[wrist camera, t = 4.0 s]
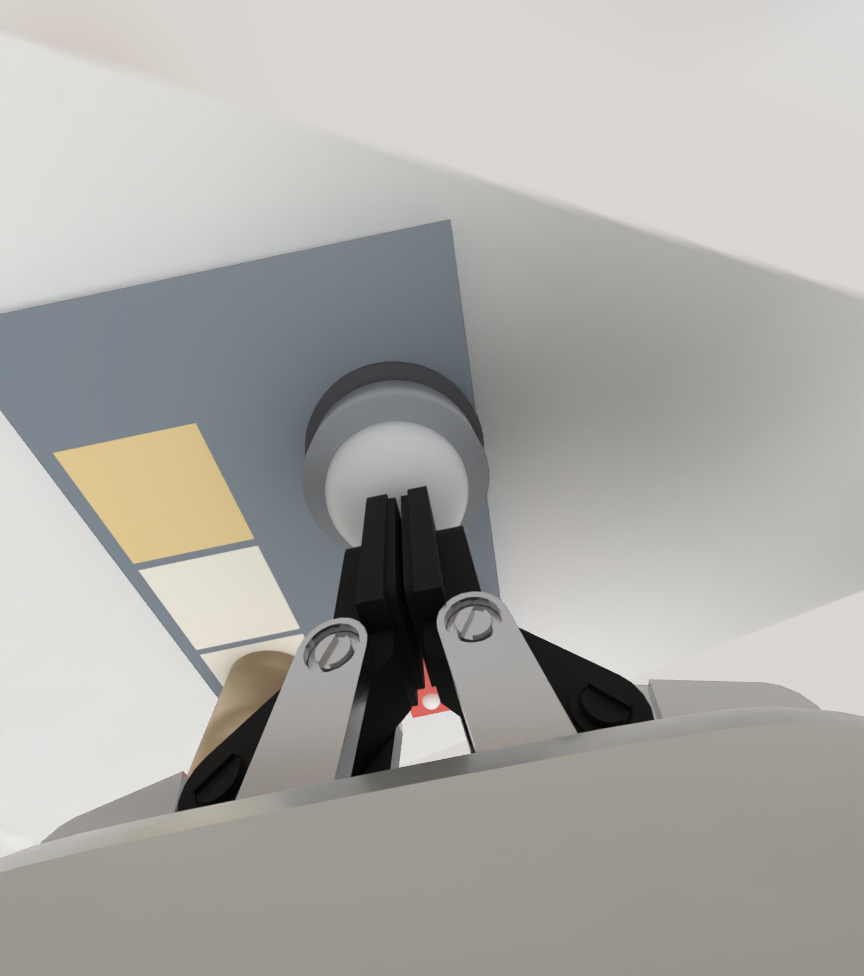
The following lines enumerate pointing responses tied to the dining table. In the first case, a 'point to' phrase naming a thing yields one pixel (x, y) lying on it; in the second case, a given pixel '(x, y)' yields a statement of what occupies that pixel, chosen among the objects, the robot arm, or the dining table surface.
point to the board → (233, 424)
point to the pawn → (243, 696)
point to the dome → (393, 458)
